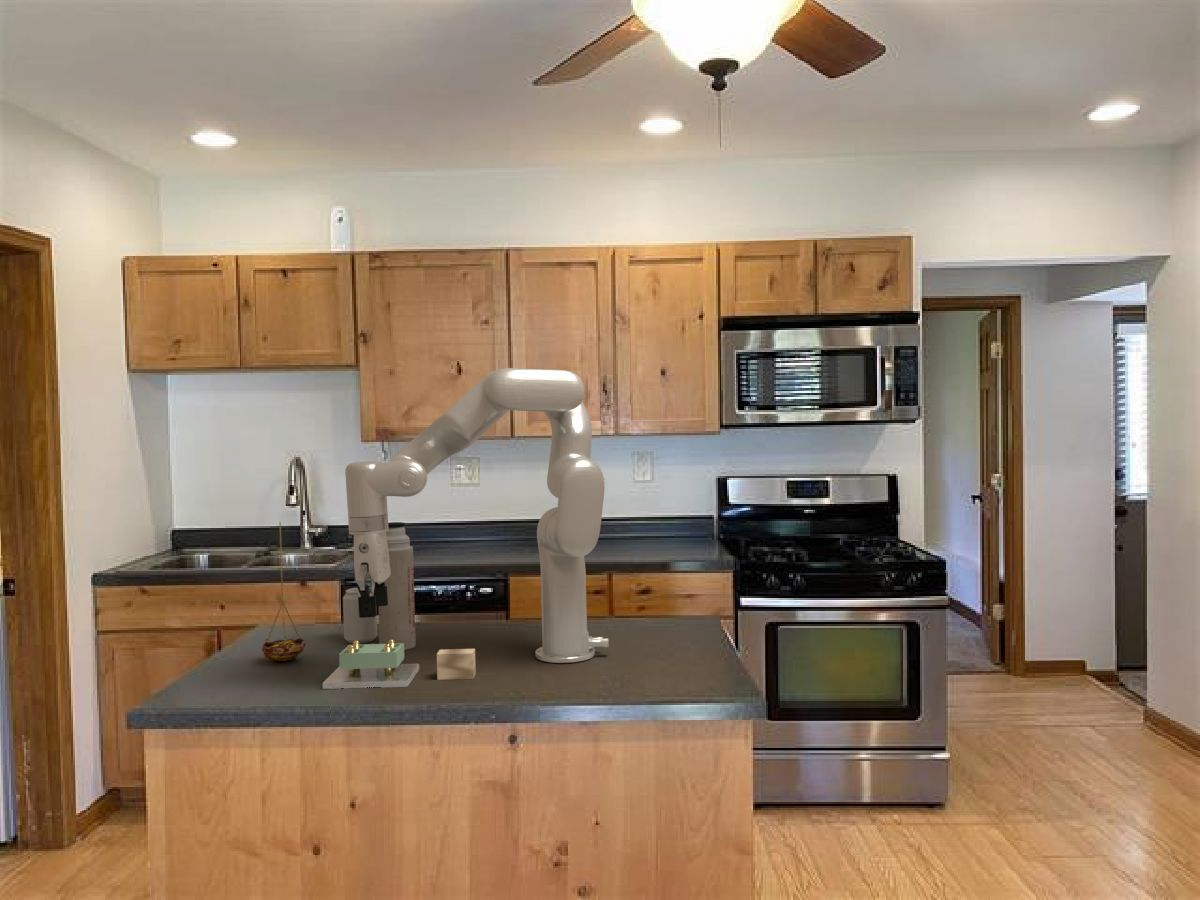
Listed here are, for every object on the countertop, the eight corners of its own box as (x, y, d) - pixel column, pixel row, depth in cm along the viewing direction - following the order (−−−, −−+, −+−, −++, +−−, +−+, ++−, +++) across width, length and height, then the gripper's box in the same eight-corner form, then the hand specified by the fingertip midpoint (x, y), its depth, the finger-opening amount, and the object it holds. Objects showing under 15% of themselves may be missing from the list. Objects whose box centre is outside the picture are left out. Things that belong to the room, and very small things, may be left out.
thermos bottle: (421, 642, 204) (417, 520, 203) (406, 651, 196) (403, 524, 195) (388, 641, 205) (385, 520, 205) (373, 650, 198) (369, 524, 197)
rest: (475, 673, 177) (475, 648, 177) (473, 678, 174) (472, 653, 174) (440, 674, 177) (439, 649, 177) (437, 679, 174) (436, 654, 173)
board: (404, 658, 179) (403, 643, 179) (396, 667, 172) (396, 652, 172) (349, 659, 179) (348, 644, 179) (339, 669, 172) (339, 653, 172)
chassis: (419, 669, 181) (418, 633, 181) (407, 686, 169) (406, 648, 169) (340, 671, 181) (339, 635, 181) (322, 689, 169) (321, 650, 169)
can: (384, 638, 209) (382, 587, 208) (359, 645, 202) (358, 593, 202) (361, 635, 213) (360, 585, 212) (337, 642, 206) (335, 590, 206)
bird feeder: (313, 660, 191) (309, 520, 190) (274, 669, 184) (269, 524, 183) (293, 653, 197) (289, 517, 196) (254, 662, 190) (250, 521, 189)
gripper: (377, 529, 166) (383, 620, 166) (397, 518, 183) (402, 601, 184) (337, 531, 166) (342, 622, 166) (360, 520, 183) (365, 603, 184)
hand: (374, 611), depth 175 cm, fingers open, 9 cm apart
